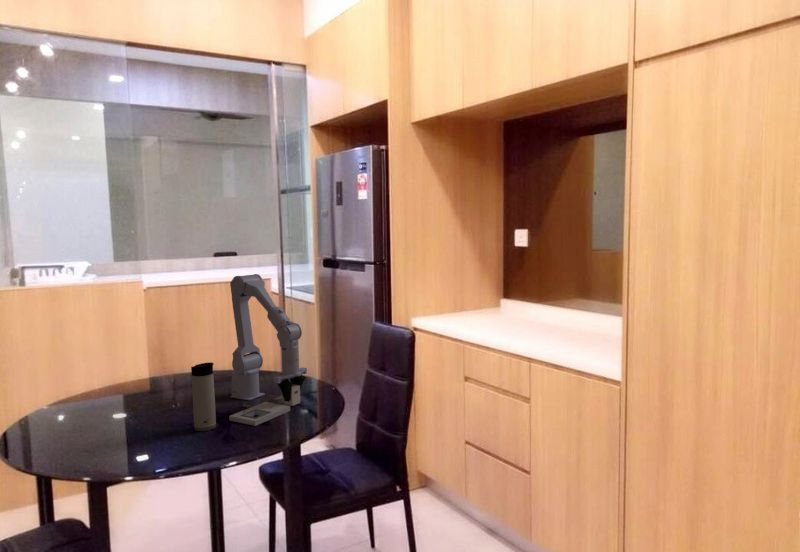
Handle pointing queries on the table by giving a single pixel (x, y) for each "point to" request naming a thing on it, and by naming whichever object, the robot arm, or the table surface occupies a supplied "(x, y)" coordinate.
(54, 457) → the table surface
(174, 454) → the table surface
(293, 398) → the block
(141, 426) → the table surface
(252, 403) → the phone
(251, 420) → the outlet plate
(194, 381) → the travel mug
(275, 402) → the cable plug
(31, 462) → the table surface
